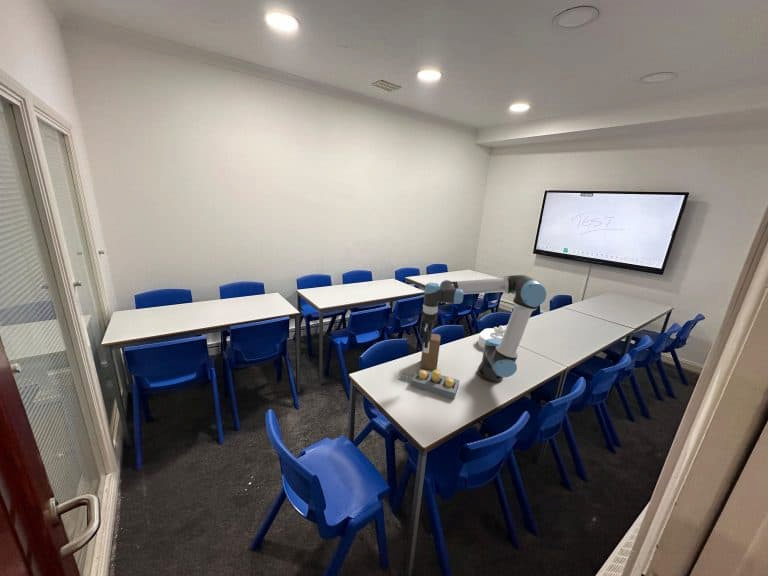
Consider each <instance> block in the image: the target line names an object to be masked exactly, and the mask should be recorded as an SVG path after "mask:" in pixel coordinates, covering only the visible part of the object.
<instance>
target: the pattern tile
mask: <svg viewBox="0 0 768 576" xmlns="http://www.w3.org/2000/svg"><path fill="white" fill-rule="evenodd" d="M414 375H415V374H414ZM414 375H413V374H411V373H407V372H403V373H402V374H401V376H399V380H400V381H403V382H407V383H410V384H411V380H412V378H413V377H414Z"/></svg>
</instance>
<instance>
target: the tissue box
mask: <svg viewBox="0 0 768 576" xmlns="http://www.w3.org/2000/svg"><path fill="white" fill-rule="evenodd" d="M505 330H506V328H505V326H504V325H499V326H498V327H497V326H494V327H493V328H492V327H491V328H484V329H483V330H481V332H479V336H478V340H477V342H478V343H477V344H478V346H479V347H480V348H482V350H484V346H485V342H486V340H487V339H490V338H494V339H500V340H502V338H503V335H504V333H505Z"/></svg>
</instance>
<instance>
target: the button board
mask: <svg viewBox="0 0 768 576" xmlns="http://www.w3.org/2000/svg"><path fill="white" fill-rule="evenodd" d="M420 370H423V368H418V369H417V370H416V372H415V373H414V377H413V378H412V380H411V383H410V387H413V388H414V389H418V390H422V391H424V392H429V393H431V394H436V395H438V396H441V397H444V398H448V399H451V400H455V399H456V395H457V392H458V390H459V386H460V379H457V378H453V377H450V376H446V375H442V374H441V376H440V381H439V382H433V381H432V372H433V371H429V370H426V371H427V380H423V379H419V378H418V377H419V371H420ZM448 377H449V378H452V379H454V385H453V388H450V387H446V386H445V379H446V378H448Z"/></svg>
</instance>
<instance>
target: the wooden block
mask: <svg viewBox="0 0 768 576" xmlns="http://www.w3.org/2000/svg"><path fill="white" fill-rule="evenodd" d="M430 340H431V341H430V344H429V352H428V353H425V352H423V348H424V342H423V341H422V347H421V358H420V359H421V360H420V366H419V367H420V369H424V370H425V369H426V370H432V371H433V370H438V361H439V356H440V355H439V353H440V346H441V345H440V344H441V334H438V333H437V334H436V333H432V335H431V339H430Z"/></svg>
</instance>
